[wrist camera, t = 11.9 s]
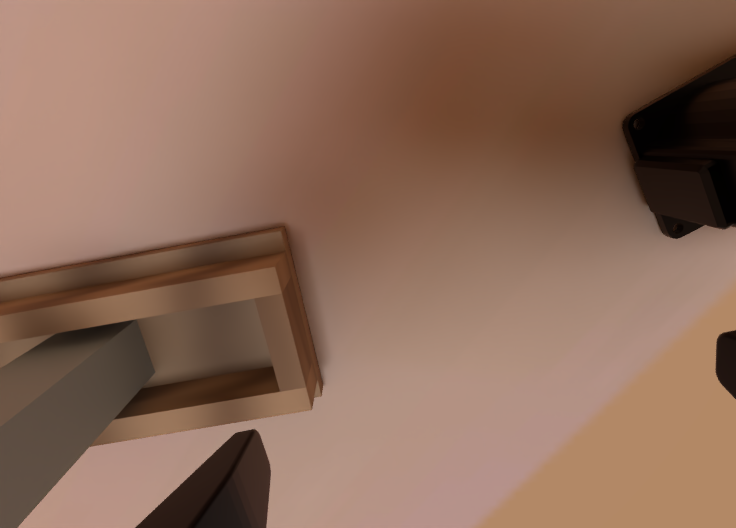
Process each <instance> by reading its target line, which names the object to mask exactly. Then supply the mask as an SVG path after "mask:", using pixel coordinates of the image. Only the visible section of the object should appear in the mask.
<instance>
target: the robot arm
mask: <svg viewBox="0 0 736 528" xmlns="http://www.w3.org/2000/svg"><path fill="white" fill-rule="evenodd" d="M636 119H638V121H639V126H638V128H637V129H635V128H634V125H633V124H634V121H635V120H636ZM623 131H624V133H625V136H626V139H627V141H628V144H629V146H630V149H631V152H632V154H633V157H634V160H635V164H634V169H635V172H636V175H637V177H638V180H639V182H640V185H641V188H642V190H643V193H644V195H645V198H646V200H647V203H648V206H649V208H650V211H651V212H654V213H655V214H656V217H657V219H658V222H659V225H660V227H661V230H662V232H663V234H664V235H665V236H667V237H670V238H675V239H678V238H681V237H683V236H685V235H687V234H689V233H691V232H693V231H695V230H697V229H698V228H700V227H702V226H704V225H707V226H711V227H715V228H719V229H727V228H729V227H731V226H732V227H736V55H734V56H732V57H730V58H728V59H727V60H725V61H723V62H721V63H720V64H718V65H716V66H714V67H713V68H711V69H709V70H707V71H705V72H704V73H702V74H700V75H698V76H697V77H695V78H693V79H691V80H689V81H688V82H686V83H684V84H682V85H681V86H679V87H677V88H675V89H674V90H672V91H670V92H668V93H666V94H665V95H663V96H661V97H659V98H658V99H656V100H654V101H652V102H650V103H649V104H647V105H645V106H643V107H642V108H640V109H638V110H636V111H635V112H633V113H631V114H629V115H628V116H627V117H626V118H625V120H624V121H623ZM676 224H677V229H676V230H675V231H673V227H674V225H676ZM716 375H717V377H718V380H719V381H720V383H721V384H722V385H723V386H724V387H725V388H726V390H727V391H728V392H729V393H730V394H731V395H732V396H733V397H734V398H735V399H736V330H735V331H730V332H725V333H722V334H721V335H719V337H718V339H717V345H716ZM270 477H271V470H270V463H269V460H268V457H267V454H266V451H265V448H264V445H263V443H262V440H261V437H260V434H259V433H258V431H256V430H255V429H252V430H247V431H242V432H238V433H235V434H234V435H233V436H232V437H231V438H230V439H229V440H227V441H226V442H225V443H224V444H223V445H222V446H221V447H220V448H219V449H218V450H217V451H216V452H215V453H214V454H213V455H212V456H211V457H210V458H208V459H207V460H206V461H205V462H204V463H203V464H202V465H201V466H200V467H199V468H198V469H197V470H196V471H195V472H194V473H193V474H192V475H190V476H189V477H188V478H187V479H186V480H185V481H184V482H183V483H182V484H181V485H180V486H179V487H178V488H177V489H176V490H175V491H174V492H173V493H171V494H170V495H169V496H168V497H167V498H166V499H165V500H164V501H163V502H162V503H161V504H160V505H159V506H158V507H157V508H156V509H155V510H153V511H152V512H151V513H150V514H149V515H148V516H147V517H146V518H145V519H144V520H143V521H142V522H141V523H140V524H139V525H138V526H137V527H136V528H266V524H267V512H268V501H269V489H270Z"/></svg>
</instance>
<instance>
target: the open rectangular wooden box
mask: <svg viewBox="0 0 736 528" xmlns="http://www.w3.org/2000/svg"><path fill="white" fill-rule="evenodd" d="M135 319H136V320H137V322H138V325H139V328H140V331H141V334H142V336H143V339H144V342H145V345H146V348H147V350H148V353H149V356H150V359H151V362H152V364H153V367H154V370H155V374H154V375H153V376H152V377H151V378H150V379H149V380H148V381H147V382H146V384H145V385H144V386H143V387H142V388H141V389H140V390H139V391H138V393H137V394H136V395H135V396H134V397H133V398H132V399H131V400H130V402H129V403H128V404H127V405H126V406H125V407H124V408H123V409H122V411H121V412H120V413H119V414H118V415H117V416H116V417H115V418H114V420H113V421H112V422H111V423H110V424H109V425H108V426H107V427H106V428H105V430H104V431H103V432H102V433H101V434H100V435H99V436H98V437H97V439H96V440H95V441H94V442H93V443H92V444H91V445H90V446H89V447H91V446H97V445H103V444H109V443H115V442H121V441H127V440H133V439H139V438H145V437H151V436H157V435H163V434H169V433H175V432H181V431H188V430H194V429H200V428H206V427H212V426H218V425H224V424H230V423H236V422H242V421H248V420H254V419H260V418H266V417H272V416H278V415H284V414H290V413H296V412H302V411H308V410H312V406H313V401H314V398H315V397H321V396H322V390H323V383H322V379H321V375H320V371H319V366H318V362H317V358H316V354H315V350H314V346H313V342H312V338H311V333H310V329H309V325H308V321H307V317H306V313H305V309H304V305H303V300H302V296H301V292H300V288H299V284H298V280H297V276H296V272H295V267H294V263H293V259H292V255H291V251H290V247H289V243H288V239H287V234H286V230H285V226H284V227H279V228H273V229H268V230H262V231H257V232H251V233H246V234H240V235H235V236H229V237H224V238H218V239H213V240H207V241H202V242H196V243H191V244H185V245H180V246H175V247H169V248H164V249H158V250H153V251H147V252H142V253H136V254H131V255H125V256H120V257H114V258H109V259H103V260H98V261H92V262H87V263H81V264H76V265H70V266H65V267H59V268H54V269H48V270H43V271H37V272H32V273H26V274H21V275H16V276H10V277H5V278H0V368H2V367H3V366H5V365H7V364H8V363H10V362H11V361H13V360H15V359H16V358H18V357H19V356H21V355H22V354H24V353H26V352H27V351H29V350H30V349H32V348H34V347H35V346H37V345H38V344H40V343H42V342H43V341H45V340H46V339H48V338H49V337H51V336H53V335H54V334H56V333H61V332H67V331H72V330H78V329H84V328H89V327H95V326H101V325H106V324H112V323H118V322H123V321H129V320H135Z"/></svg>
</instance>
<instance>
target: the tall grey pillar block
mask: <svg viewBox="0 0 736 528" xmlns="http://www.w3.org/2000/svg"><path fill="white" fill-rule="evenodd" d="M154 374H155V370H154V367H153V364H152V362H151V359H150V356H149V353H148V350H147V348H146V345H145V342H144V339H143V336H142V334H141V331H140V328H139V325H138V322H137V320H136V319H135V320H129V321H123V322H118V323H112V324H106V325H101V326H95V327H89V328H84V329H78V330H72V331H67V332H61V333H56V334H54V335H53V336H51V337H49V338H48V339H46V340H45V341H43V342H42V343H40V344H38V345H37V346H35V347H34V348H32V349H30V350H29V351H27V352H26V353H24V354H22V355H21V356H19V357H18V358H16V359H15V360H13V361H11V362H10V363H8V364H7V365H5V366H3V367H2V368H0V528H17V527H18V526H19V525H20V524H21V523H22V522H23V521H24V519H25V518H26V517H27V516H28V515H29V514H30V513H31V512H32V510H33V509H34V508H35V507H36V506H37V505H38V504H39V503H40V501H41V500H42V499H43V498H44V497H45V496H46V495H47V494H48V492H49V491H50V490H51V489H52V488H53V487H54V486H55V485H56V483H57V482H58V481H59V480H60V479H61V478H62V477H63V476H64V475H65V473H66V472H67V471H68V470H69V469H70V468H71V467H72V466H73V464H74V463H75V462H76V461H77V460H78V459H79V458H80V457H81V455H82V454H83V453H84V452H85V451H86V450H87V449H88V448H89V446H90V445H91V444H92V443H93V442H94V441H95V440H96V439H97V437H98V436H99V435H100V434H101V433H102V432H103V431H104V430H105V428H106V427H107V426H108V425H109V424H110V423H111V422H112V421H113V420H114V418H115V417H116V416H117V415H118V414H119V413H120V412H121V411H122V409H123V408H124V407H125V406H126V405H127V404H128V403H129V402H130V400H131V399H132V398H133V397H134V396H135V395H136V394H137V393H138V391H139V390H140V389H141V388H142V387H143V386H144V385H145V384H146V382H147V381H148V380H149V379H150V378H151V377H152V376H153V375H154Z"/></svg>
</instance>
